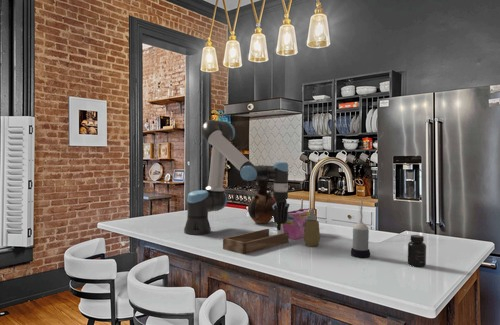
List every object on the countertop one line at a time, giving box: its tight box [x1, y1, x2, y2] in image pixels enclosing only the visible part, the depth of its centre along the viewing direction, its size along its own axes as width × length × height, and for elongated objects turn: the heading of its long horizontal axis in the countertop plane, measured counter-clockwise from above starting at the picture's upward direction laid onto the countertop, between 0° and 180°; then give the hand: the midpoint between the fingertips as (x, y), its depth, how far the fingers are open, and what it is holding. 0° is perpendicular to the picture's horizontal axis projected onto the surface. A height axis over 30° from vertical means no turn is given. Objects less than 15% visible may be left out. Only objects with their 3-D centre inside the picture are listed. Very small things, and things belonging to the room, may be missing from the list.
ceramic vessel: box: [247, 179, 275, 224], centre depth 241 cm, size 21×18×30 cm
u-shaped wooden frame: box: [222, 228, 290, 255], centre depth 179 cm, size 14×33×5 cm, turn 138°
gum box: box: [283, 208, 309, 240], centre depth 204 cm, size 24×8×14 cm, turn 139°
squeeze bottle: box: [303, 208, 321, 247], centre depth 181 cm, size 8×8×18 cm
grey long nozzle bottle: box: [350, 199, 371, 259], centre depth 163 cm, size 8×8×25 cm
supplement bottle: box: [407, 234, 427, 268], centre depth 150 cm, size 7×7×12 cm
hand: (280, 235), depth 193 cm, fingers closed
